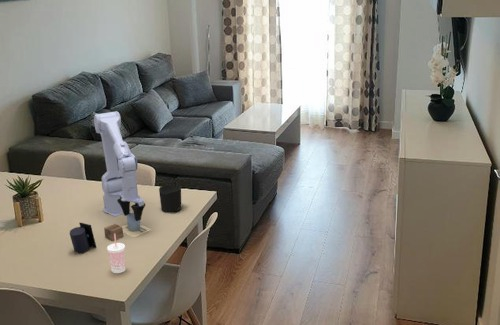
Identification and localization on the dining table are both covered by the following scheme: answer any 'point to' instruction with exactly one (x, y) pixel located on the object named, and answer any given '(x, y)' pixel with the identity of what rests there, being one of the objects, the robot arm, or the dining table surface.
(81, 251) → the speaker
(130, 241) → the dining table surface
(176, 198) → the pen holder
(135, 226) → the slate cylinder
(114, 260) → the beverage cup
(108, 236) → the walnut block
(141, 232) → the letter
